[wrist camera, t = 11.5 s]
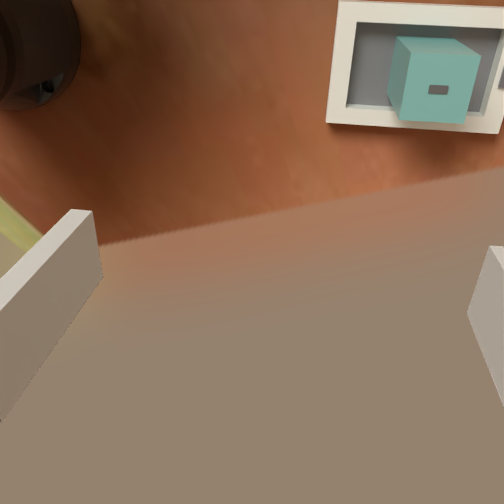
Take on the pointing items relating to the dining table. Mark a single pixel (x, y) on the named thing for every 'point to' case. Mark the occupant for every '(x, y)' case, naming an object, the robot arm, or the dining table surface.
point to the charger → (432, 79)
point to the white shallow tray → (381, 53)
